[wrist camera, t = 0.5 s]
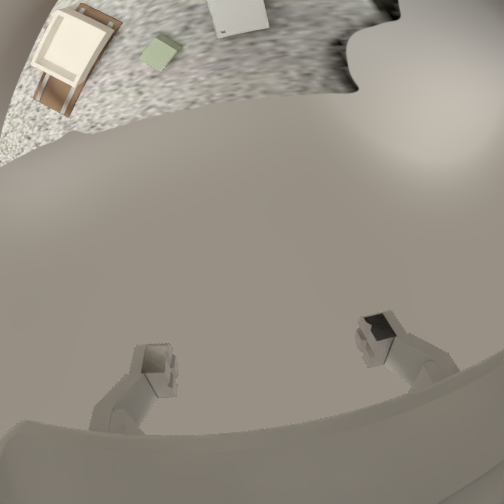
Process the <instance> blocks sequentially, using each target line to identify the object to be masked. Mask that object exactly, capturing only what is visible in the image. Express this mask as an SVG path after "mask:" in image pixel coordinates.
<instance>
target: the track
mask: <svg viewBox="0 0 504 504" xmlns="http://www.w3.org/2000/svg"><path fill="white" fill-rule="evenodd" d="M76 11H77V12H79V13H81V14H83V15H85V16H88V17H90V18H92V19H94V20H96V21H98V22H100V23H102V24H104V25H106V26H108V27H110V28H112V29H114V30H115V31H114V32H113V34H112V35H111V37H110V38H109V40H108V41H107V43H106V45H105V46H104V48H103V49H102V51H101V53H100V54H99V56H98V58H97V59H96V61H95V63H94V64H93V66H92V68H91V70H90V72H89V73H88V75H87V77H86V79H85V81H84V82H83V83H81V84H80V85H78V86H77V87H75V88H74V87H72V86H71V85H69V84H67V83H65V82H63V81H61V80H59V79H57V78H55V77H53V76H52V75H50V74H48V73H46V72H44V73H43V75H42V77H41V80H40V82H39V85H38V87H37V90H36V92H35V95H34V97H33V99H35V100H37V101H39V102H40V103H42V104H44V105H46V106H48V107H50V108H52V109H53V110H55V111H57V112H59V113H61V114H63V115H64V116H66V117H69V116H70V114H71V111H72V109H73V107H74V105H75V103H76V101H77V99H78V97H79V95H80V93H81V91H82V89H83V87H84V85H85V83H86V81H87V79H88V78H89V76H90V74H91V72H92V70H93V69H94V67H95V65H96V63H97V62H98V60H99V58H100V57H101V55H102V53H103V52H104V50H105V48H106V47H107V45H108V44H109V42H110V41H111V39H112V38H113V36H114V35H115V33H116V32H117V30H118V29H119V27H120V26H121V24H122V22H120V21H118V20H116V19H114V18H112V17H110V16H108V15H106V14H104V13H102V12H100V11H98V10H96V9H94V8H92V7H90V6H87V5H85V4H83V3H80V5H79V6H78V8H77V9H76Z"/></svg>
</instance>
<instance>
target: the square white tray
mask: <svg viewBox="0 0 504 504" xmlns="http://www.w3.org/2000/svg"><path fill="white" fill-rule="evenodd" d="M114 31H115V30H114V29H112V28H110V27H108V26H106V25H104V24H102V23H100V22H98V21H96V20H94V19H92V18H90V17H88V16H85V15H83V14H81V13H79V12H77V11H75V10H72V9H70V8H64V9H57V11H56V13H55V15H54V17H53V18H52V20H51V22H50V24H49V26H48V28H47V30H46V32H45V34H44V36H43V38H42V40H41V42H40V44H39V46H38V48H37V51H36V53H35V55H34V57H33V60H32V62H31V64H30V65H32V66H34V67H36V68H38V69H40V70H42V71H44V72H46V73H48V74H50V75H52V76H53V77H55V78H57V79H59V80H61V81H63V82H65V83H67V84H69V85H71V86H72V87H74V88H75V87H77V86H78V85H80V84H81V83H83V82H84V81H85V79H86V77H87V75H88V73H89V72H90V70H91V68H92V66H93V64H94V63H95V61H96V59H97V58H98V56H99V54H100V53H101V51H102V49H103V48H104V46H105V45H106V43H107V41H108V40H109V38H110V37H111V35H112V34H113V32H114Z"/></svg>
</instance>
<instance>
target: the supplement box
mask: <svg viewBox="0 0 504 504" xmlns="http://www.w3.org/2000/svg"><path fill="white" fill-rule="evenodd" d="M206 2H207V5H208V8H209V12H210V15H211V19H212V22H213V25H214V29H215V32H216V36H217V39H220V38H225V37H229V36H233V35H237V34H242V33H246V32H251V31H256V30H261V29H266V28H270V27H269V21H268V17H267V12H266V8H265V4H264V0H206Z"/></svg>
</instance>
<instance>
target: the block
mask: <svg viewBox="0 0 504 504" xmlns="http://www.w3.org/2000/svg"><path fill="white" fill-rule="evenodd" d="M181 47H182V46H181V45H179V44H178V43H176V42H174V41H173V40H171V39H170V38H168V37H166V36H165V35H163V34H161V35H159V36H156V37H155V38H154V39H153V40H152V42H151V43H150V44H149V46H148V47H147V48H146V50H145V51H144V52H143V54H142V55H141V57H140V58H139V60H141V61H143V62H145V63H146V64H148V65H150V66H151V67H153V68H155V69H156V70H158V71H160V72H161V71H162V70H163V69H164V68H165V67H166V66H167V65H168V64H169V62H170V61H171V60H172V59H173V57H174V56H175V55H176V54H177V52H178V51H179V50H180V49H181Z"/></svg>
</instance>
